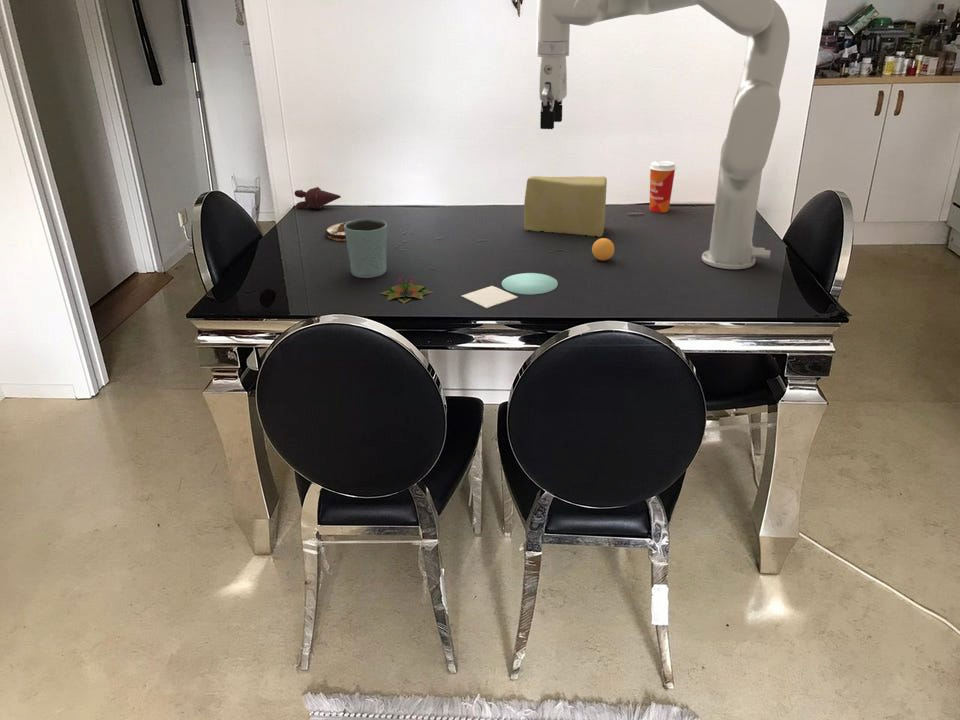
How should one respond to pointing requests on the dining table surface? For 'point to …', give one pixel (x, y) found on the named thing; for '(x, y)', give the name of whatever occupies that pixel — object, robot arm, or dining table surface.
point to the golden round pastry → (336, 232)
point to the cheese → (565, 205)
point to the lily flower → (404, 288)
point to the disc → (529, 283)
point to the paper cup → (661, 185)
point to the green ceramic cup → (366, 247)
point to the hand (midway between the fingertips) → (551, 125)
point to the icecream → (315, 198)
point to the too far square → (489, 296)
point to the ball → (603, 249)
